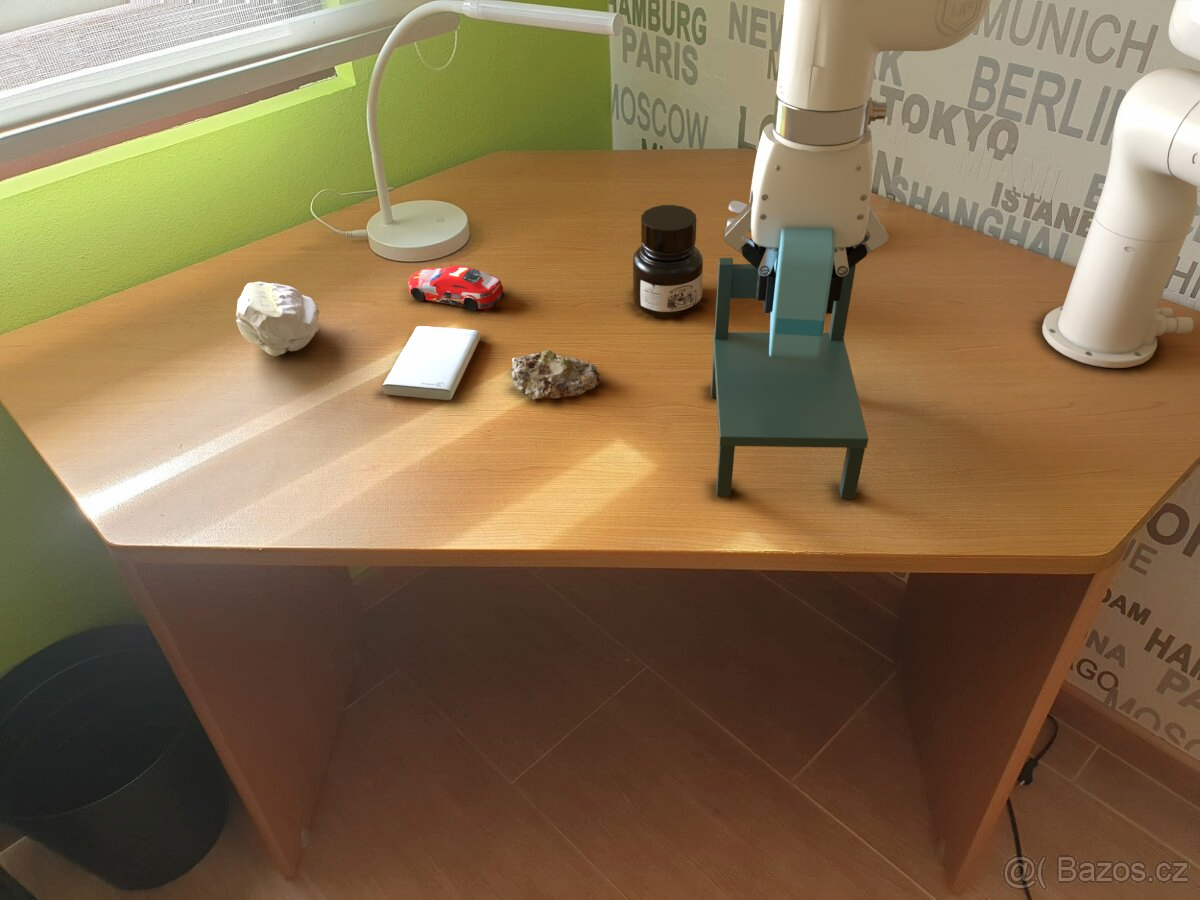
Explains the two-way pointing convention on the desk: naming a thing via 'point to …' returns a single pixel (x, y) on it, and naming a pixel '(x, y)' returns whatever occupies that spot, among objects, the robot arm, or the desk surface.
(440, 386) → the hard drive
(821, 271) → the light blue rounded block
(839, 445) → the chair
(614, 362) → the desk surface
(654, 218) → the ink bottle
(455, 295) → the race car
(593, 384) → the mineral rock
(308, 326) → the white rounded lump
